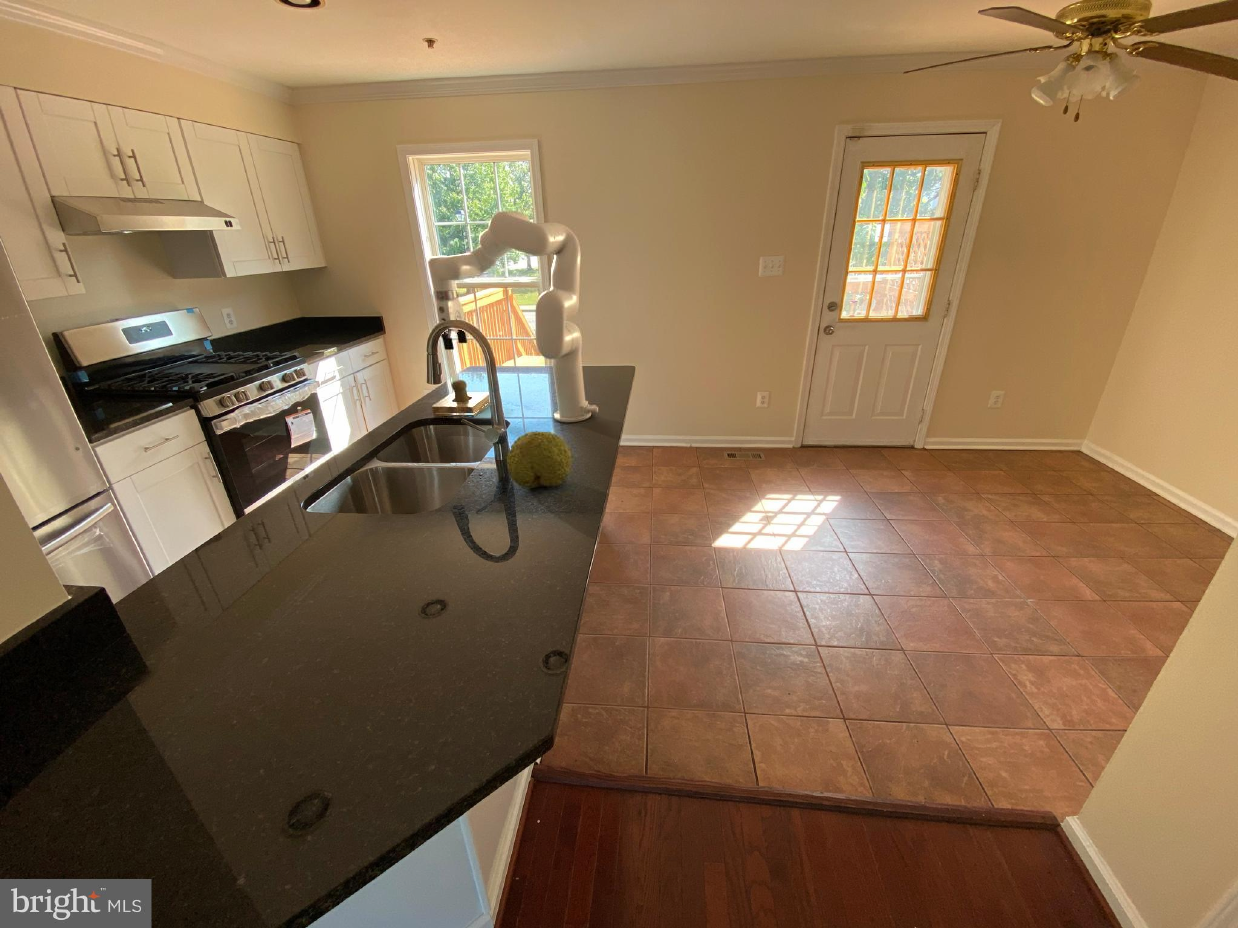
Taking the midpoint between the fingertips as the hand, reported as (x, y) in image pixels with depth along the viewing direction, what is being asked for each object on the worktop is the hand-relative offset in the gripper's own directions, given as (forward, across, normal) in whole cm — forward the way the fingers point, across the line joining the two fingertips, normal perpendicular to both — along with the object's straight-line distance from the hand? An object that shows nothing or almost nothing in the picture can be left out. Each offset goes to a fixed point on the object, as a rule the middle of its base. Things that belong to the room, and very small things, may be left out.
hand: (456, 346), depth 176 cm
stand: (+23, -1, +1) cm, 23 cm away
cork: (+23, -1, +1) cm, 23 cm away
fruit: (+23, -55, -49) cm, 77 cm away
